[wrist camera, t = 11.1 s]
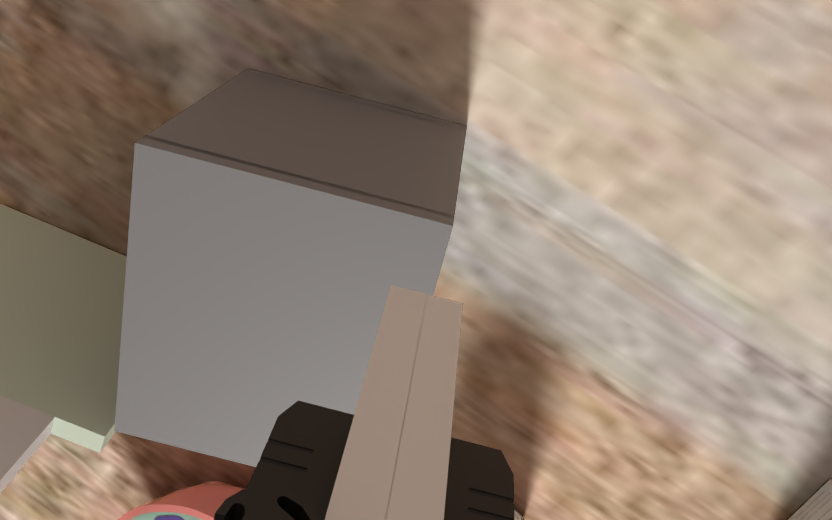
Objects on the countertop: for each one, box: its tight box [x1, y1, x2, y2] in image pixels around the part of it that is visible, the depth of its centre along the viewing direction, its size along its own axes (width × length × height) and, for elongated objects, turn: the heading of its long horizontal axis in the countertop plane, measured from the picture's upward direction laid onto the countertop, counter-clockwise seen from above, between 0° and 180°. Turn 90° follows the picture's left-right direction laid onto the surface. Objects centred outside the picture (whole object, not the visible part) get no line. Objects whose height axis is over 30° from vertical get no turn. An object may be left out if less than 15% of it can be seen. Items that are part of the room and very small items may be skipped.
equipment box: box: [114, 69, 467, 467], centre depth 43 cm, size 14×16×16 cm
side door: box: [0, 204, 127, 493], centre depth 43 cm, size 1×16×22 cm, turn 67°
